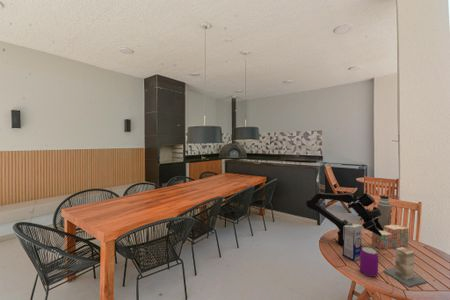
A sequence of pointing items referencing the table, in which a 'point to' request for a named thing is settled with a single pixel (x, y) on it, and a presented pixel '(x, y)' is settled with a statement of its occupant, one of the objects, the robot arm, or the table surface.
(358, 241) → the milk carton
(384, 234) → the stack of blocks
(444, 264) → the table surface
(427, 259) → the table surface
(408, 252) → the birch block
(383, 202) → the thermos bottle
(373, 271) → the beverage can
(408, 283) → the charcoal board
